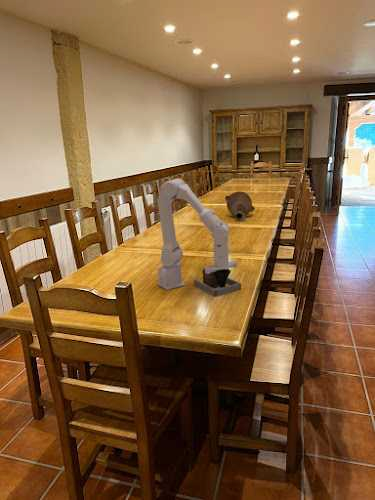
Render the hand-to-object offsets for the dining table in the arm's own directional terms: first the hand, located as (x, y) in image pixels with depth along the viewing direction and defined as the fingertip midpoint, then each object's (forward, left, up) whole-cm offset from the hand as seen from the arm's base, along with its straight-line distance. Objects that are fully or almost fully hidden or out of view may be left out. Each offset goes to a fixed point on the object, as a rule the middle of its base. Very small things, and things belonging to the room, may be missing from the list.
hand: (221, 286), depth 151 cm
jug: (+96, +107, -2) cm, 143 cm away
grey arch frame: (0, +3, -1) cm, 4 cm away
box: (0, +6, -1) cm, 6 cm away
